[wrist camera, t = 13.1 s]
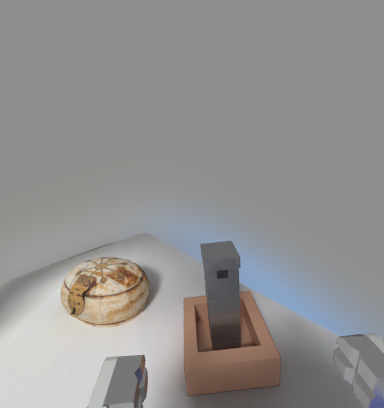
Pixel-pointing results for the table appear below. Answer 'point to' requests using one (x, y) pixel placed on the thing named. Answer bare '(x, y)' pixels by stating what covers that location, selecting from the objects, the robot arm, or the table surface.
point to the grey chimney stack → (222, 294)
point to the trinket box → (105, 292)
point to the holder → (228, 351)
